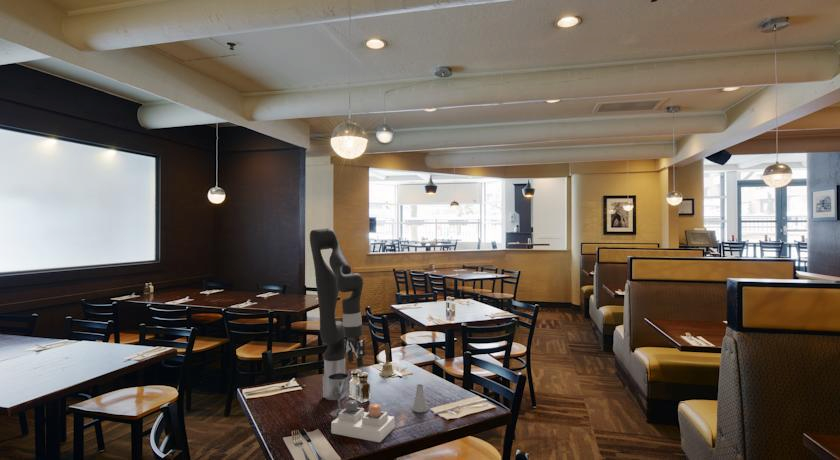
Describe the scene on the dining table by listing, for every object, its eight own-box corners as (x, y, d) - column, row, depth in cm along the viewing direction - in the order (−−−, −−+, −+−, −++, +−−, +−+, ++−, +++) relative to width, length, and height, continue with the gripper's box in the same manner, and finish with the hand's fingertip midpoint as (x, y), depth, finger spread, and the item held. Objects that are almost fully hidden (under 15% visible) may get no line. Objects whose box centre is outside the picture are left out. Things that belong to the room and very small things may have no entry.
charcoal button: (343, 411, 160) (343, 403, 160) (349, 407, 164) (349, 399, 164) (353, 413, 158) (353, 405, 158) (359, 408, 162) (359, 400, 162)
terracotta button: (366, 415, 156) (366, 407, 156) (372, 410, 160) (372, 402, 160) (377, 417, 154) (377, 409, 154) (383, 412, 158) (382, 404, 158)
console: (331, 433, 157) (331, 415, 157) (348, 419, 168) (348, 402, 168) (379, 442, 150) (379, 423, 150) (394, 427, 161) (394, 410, 161)
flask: (427, 413, 172) (426, 389, 172) (409, 412, 173) (409, 388, 173) (430, 406, 179) (429, 382, 179) (413, 405, 180) (413, 381, 180)
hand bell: (397, 371, 223) (396, 341, 223) (393, 377, 215) (392, 345, 215) (381, 371, 225) (381, 340, 225) (377, 376, 216) (376, 345, 216)
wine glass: (352, 409, 177) (351, 373, 177) (343, 418, 170) (342, 380, 169) (335, 407, 180) (334, 372, 180) (325, 415, 172) (324, 378, 172)
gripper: (336, 323, 175) (339, 362, 175) (351, 328, 163) (354, 370, 163) (353, 319, 179) (355, 358, 179) (369, 324, 167) (372, 366, 167)
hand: (355, 364), depth 171 cm, fingers open, 8 cm apart
